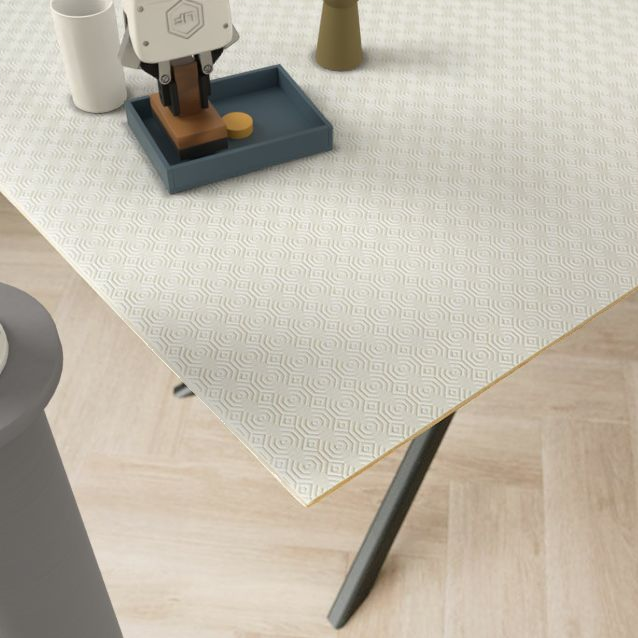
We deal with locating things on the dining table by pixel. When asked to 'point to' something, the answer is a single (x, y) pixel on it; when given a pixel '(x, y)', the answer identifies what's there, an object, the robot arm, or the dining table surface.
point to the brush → (189, 115)
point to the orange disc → (238, 125)
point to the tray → (248, 153)
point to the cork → (339, 36)
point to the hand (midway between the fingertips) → (186, 104)
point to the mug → (90, 53)
